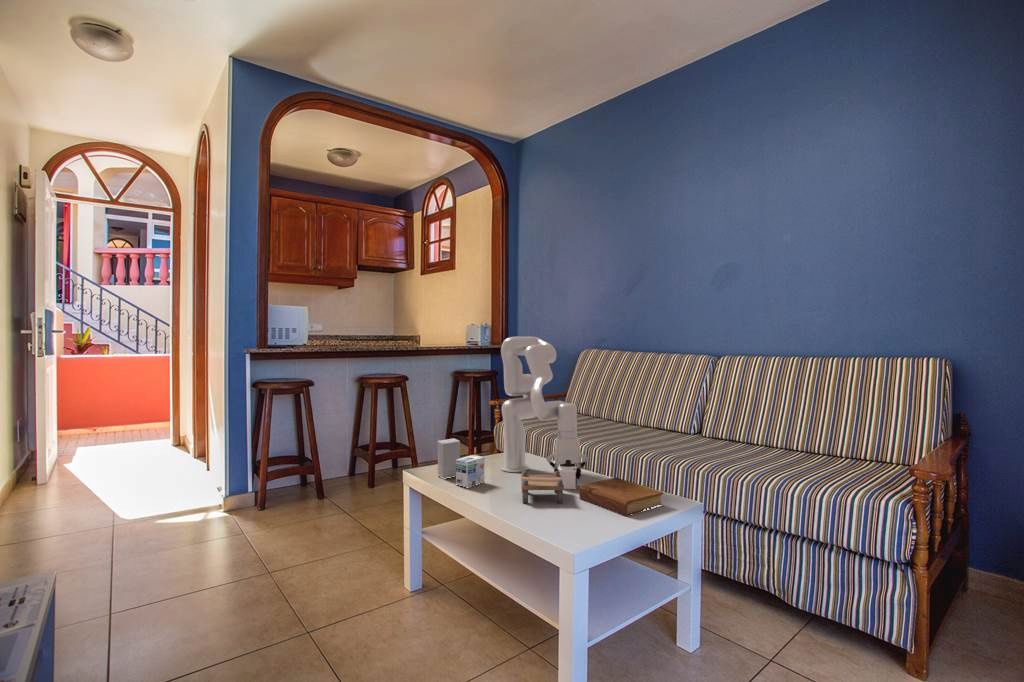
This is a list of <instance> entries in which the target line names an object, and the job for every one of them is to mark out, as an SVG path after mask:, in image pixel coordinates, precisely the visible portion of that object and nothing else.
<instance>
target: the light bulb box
mask: <svg viewBox="0 0 1024 682" xmlns="http://www.w3.org/2000/svg"><path fill="white" fill-rule="evenodd" d="M482 482H484V483H485V456H480V455H475V454H471V455H468V456H464V457H460V459H456V477H455V485H456V484H457V485H460V486H464V487H470V486H473V485H476V484H479V483H482ZM479 485H480V484H479ZM460 486H459V487H460ZM476 486H477V485H476ZM464 487H463V488H464ZM473 487H474V486H473ZM470 488H471V487H470Z"/></svg>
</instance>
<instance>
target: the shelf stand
mask: <svg viewBox="0 0 1024 682" xmlns="http://www.w3.org/2000/svg"><path fill="white" fill-rule="evenodd" d="M520 480H521V481H520V483H521V493H522V504H523V503H524V504H523V505H527V503H528V504H529V491H554V494H556V503H557V504H559V505H561V504H563V492H564V490H565V489H564V485H563V481H562V479H561V476H560V472H559V471H555V472H554V471H553V474H528V471H523V472H521V475H520Z"/></svg>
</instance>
